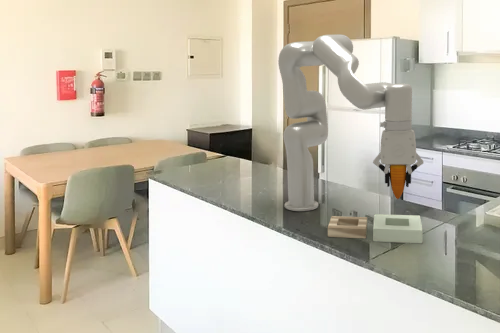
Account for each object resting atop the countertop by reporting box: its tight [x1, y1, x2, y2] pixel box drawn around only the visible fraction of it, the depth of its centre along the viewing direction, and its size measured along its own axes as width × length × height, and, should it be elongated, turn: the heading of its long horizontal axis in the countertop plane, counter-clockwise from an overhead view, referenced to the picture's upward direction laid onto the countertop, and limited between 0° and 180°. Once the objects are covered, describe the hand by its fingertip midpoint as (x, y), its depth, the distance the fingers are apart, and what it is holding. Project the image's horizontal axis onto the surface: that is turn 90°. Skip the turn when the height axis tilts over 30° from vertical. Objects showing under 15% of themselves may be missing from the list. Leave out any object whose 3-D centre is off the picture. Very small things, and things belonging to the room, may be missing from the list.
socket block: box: [327, 215, 368, 239], centre depth 163 cm, size 12×12×3 cm
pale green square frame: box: [372, 213, 424, 244], centre depth 158 cm, size 14×14×4 cm
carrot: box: [389, 165, 407, 200], centre depth 154 cm, size 5×5×15 cm
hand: (397, 185), depth 155 cm, fingers closed on carrot, 4 cm apart
